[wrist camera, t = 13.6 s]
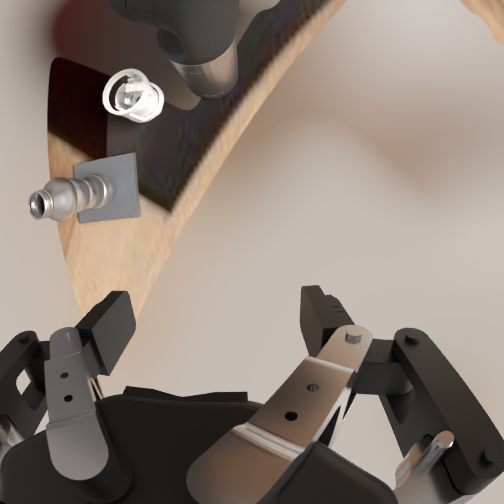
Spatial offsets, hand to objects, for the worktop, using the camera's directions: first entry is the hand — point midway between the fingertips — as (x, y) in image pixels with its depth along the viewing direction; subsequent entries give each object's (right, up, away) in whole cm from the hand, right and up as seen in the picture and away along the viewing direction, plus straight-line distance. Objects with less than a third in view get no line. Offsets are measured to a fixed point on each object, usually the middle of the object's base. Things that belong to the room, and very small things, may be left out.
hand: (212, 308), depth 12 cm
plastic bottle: (-26, +14, +34) cm, 45 cm away
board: (-26, +15, +35) cm, 46 cm away
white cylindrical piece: (-16, +29, +31) cm, 45 cm away
